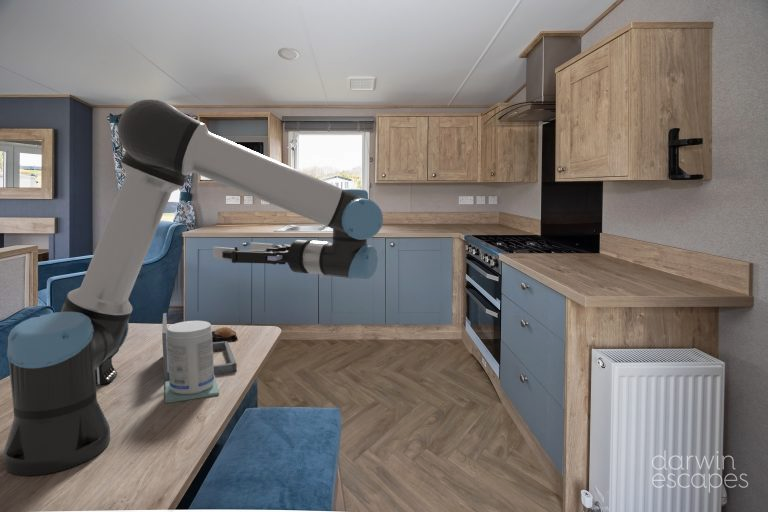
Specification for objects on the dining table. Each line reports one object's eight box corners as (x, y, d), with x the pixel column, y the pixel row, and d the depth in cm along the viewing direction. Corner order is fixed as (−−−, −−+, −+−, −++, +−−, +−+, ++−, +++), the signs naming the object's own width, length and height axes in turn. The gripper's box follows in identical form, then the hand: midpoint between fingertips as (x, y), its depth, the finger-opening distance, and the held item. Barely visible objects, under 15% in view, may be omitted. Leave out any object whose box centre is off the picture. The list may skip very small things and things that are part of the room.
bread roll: (207, 337, 147) (206, 325, 146) (234, 333, 151) (233, 322, 150) (211, 346, 137) (211, 334, 137) (240, 342, 141) (240, 331, 141)
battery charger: (112, 385, 107) (109, 338, 106) (94, 386, 106) (91, 339, 105) (122, 373, 114) (119, 329, 112) (105, 374, 113) (102, 330, 112)
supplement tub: (209, 376, 112) (207, 318, 110) (218, 390, 104) (217, 327, 102) (166, 384, 107) (163, 323, 105) (172, 399, 99) (170, 334, 97)
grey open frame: (164, 381, 110) (162, 333, 108) (165, 354, 128) (163, 313, 126) (236, 371, 117) (235, 326, 116) (227, 347, 135) (226, 308, 133)
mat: (165, 403, 98) (165, 400, 98) (165, 384, 108) (165, 381, 108) (218, 394, 103) (218, 392, 103) (214, 377, 113) (214, 374, 113)
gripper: (278, 281, 92) (196, 272, 100) (334, 266, 115) (264, 259, 123) (279, 245, 91) (196, 238, 99) (335, 237, 114) (264, 232, 122)
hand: (233, 250), depth 111 cm, fingers open, 13 cm apart
